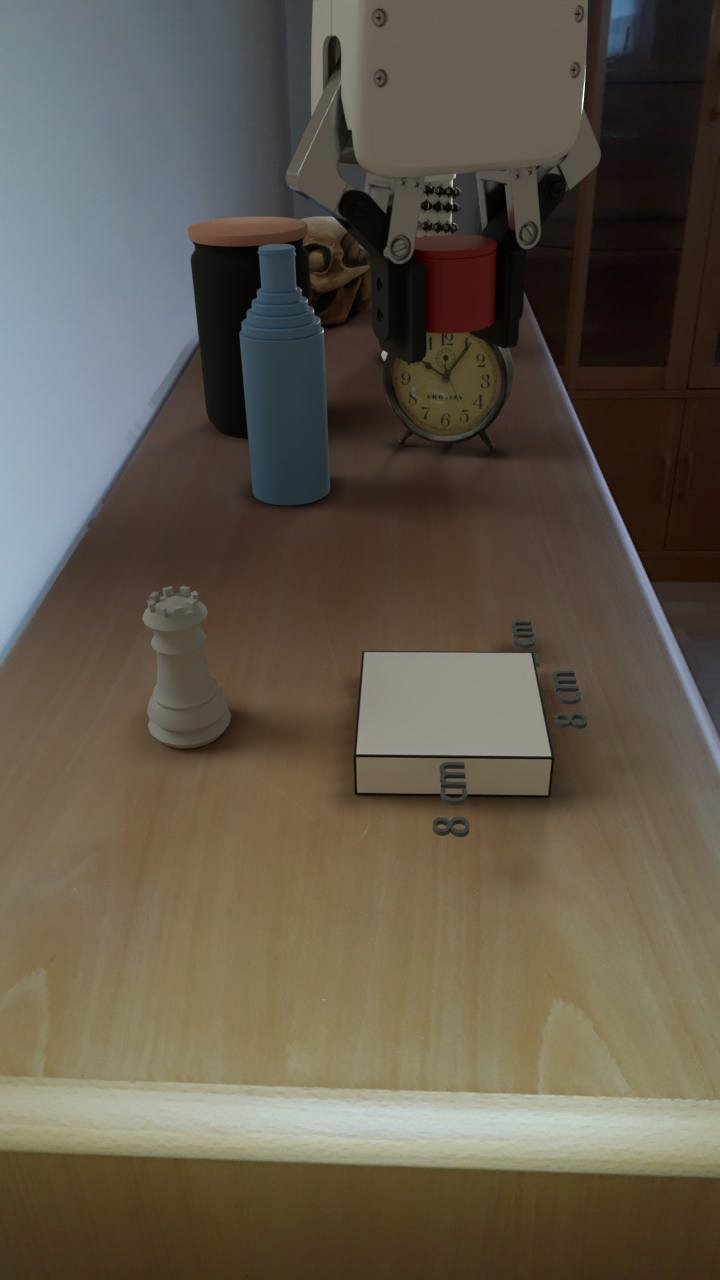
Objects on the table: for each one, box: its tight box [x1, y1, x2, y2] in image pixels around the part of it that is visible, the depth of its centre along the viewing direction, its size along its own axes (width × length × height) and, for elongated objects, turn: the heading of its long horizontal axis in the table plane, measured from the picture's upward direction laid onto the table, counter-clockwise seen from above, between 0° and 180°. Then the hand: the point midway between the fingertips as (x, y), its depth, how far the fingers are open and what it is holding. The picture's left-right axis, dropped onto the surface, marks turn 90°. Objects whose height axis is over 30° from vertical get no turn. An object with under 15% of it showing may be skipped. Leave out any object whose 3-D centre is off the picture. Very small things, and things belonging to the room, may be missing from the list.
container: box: [353, 620, 588, 838], centre depth 51 cm, size 20×11×3 cm, turn 177°
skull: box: [299, 215, 371, 327], centre depth 132 cm, size 16×17×13 cm
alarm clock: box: [382, 332, 514, 454], centre depth 85 cm, size 11×5×16 cm, turn 73°
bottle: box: [240, 244, 331, 506], centre depth 77 cm, size 6×6×19 cm
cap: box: [415, 234, 497, 334], centre depth 42 cm, size 4×4×3 cm
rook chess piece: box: [141, 585, 232, 750], centre depth 51 cm, size 4×4×8 cm
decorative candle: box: [380, 174, 462, 362], centre depth 109 cm, size 9×9×25 cm
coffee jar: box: [187, 216, 312, 439], centre depth 92 cm, size 11×11×18 cm
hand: (447, 343), depth 43 cm, fingers closed on cap, 3 cm apart
